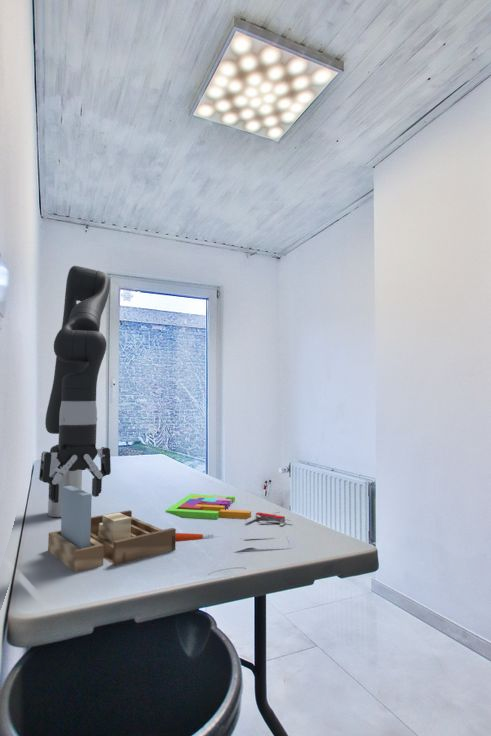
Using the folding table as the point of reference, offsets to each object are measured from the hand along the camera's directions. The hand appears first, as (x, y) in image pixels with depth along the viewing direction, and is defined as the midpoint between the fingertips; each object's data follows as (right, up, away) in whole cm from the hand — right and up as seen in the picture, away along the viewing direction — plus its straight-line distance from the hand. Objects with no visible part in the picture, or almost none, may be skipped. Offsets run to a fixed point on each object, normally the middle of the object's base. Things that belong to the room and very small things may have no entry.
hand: (75, 499), depth 91 cm
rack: (+8, -14, +7) cm, 18 cm away
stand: (0, -13, -1) cm, 13 cm away
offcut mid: (+6, -10, +7) cm, 14 cm away
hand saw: (+32, -15, +10) cm, 37 cm away
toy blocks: (+27, -18, +44) cm, 55 cm away
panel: (0, -12, -1) cm, 12 cm away
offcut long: (+7, -13, +6) cm, 15 cm away
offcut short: (+7, -8, +6) cm, 12 cm away
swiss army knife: (+44, -16, +30) cm, 56 cm away
